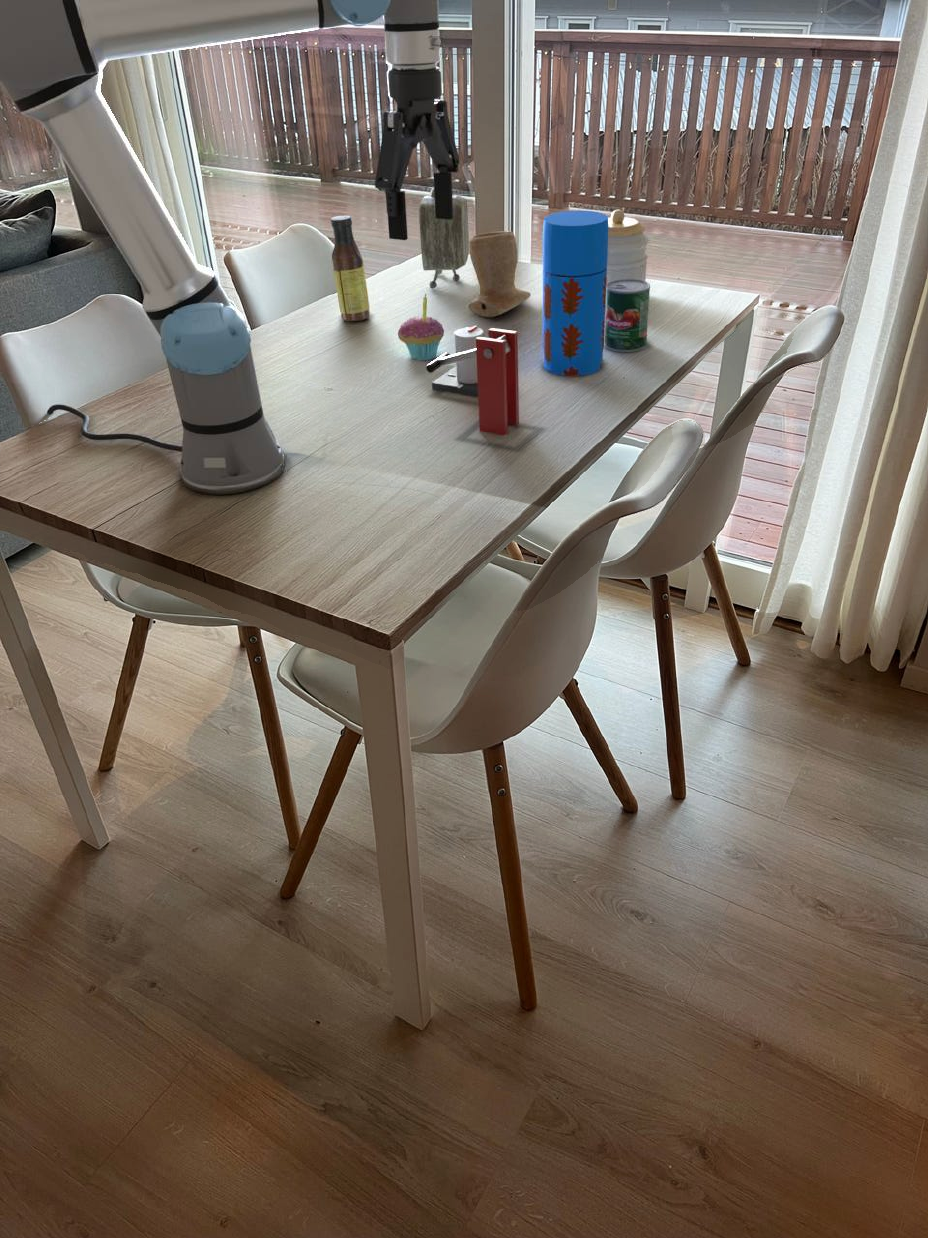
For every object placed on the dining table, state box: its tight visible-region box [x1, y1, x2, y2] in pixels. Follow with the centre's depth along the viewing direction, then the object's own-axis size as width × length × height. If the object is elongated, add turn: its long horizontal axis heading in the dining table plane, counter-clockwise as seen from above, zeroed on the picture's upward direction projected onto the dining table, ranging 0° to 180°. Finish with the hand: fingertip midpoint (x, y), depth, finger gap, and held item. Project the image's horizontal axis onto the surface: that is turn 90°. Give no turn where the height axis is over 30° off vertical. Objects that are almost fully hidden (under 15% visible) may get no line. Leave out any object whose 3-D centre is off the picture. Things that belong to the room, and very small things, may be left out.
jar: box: [606, 209, 650, 285], centre depth 191 cm, size 13×13×18 cm
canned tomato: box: [604, 279, 651, 353], centre depth 171 cm, size 8×8×11 cm
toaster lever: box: [425, 335, 511, 374], centre depth 140 cm, size 13×6×2 cm, turn 61°
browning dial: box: [454, 325, 485, 384], centre depth 155 cm, size 5×5×8 cm
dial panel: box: [431, 366, 478, 398], centre depth 159 cm, size 11×9×3 cm
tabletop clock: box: [418, 170, 470, 290], centre depth 205 cm, size 14×9×25 cm, turn 174°
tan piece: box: [467, 230, 532, 318], centre depth 191 cm, size 15×12×15 cm
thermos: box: [542, 210, 609, 377], centre depth 160 cm, size 11×11×25 cm
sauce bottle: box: [330, 215, 371, 322], centre depth 189 cm, size 7×6×20 cm
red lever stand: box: [476, 327, 520, 437], centre depth 141 cm, size 10×8×16 cm
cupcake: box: [397, 293, 445, 361], centre depth 171 cm, size 9×8×12 cm
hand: (422, 228), depth 141 cm, fingers open, 13 cm apart
